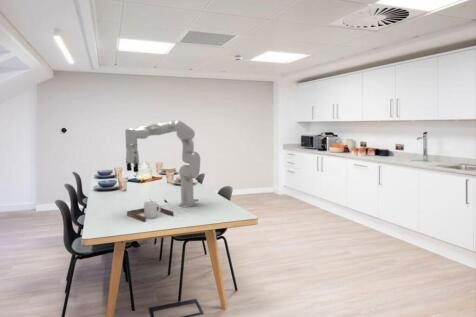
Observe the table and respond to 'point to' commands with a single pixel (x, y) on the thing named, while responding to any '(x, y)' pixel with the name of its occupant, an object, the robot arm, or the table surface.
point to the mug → (151, 209)
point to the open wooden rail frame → (135, 212)
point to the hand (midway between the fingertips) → (132, 171)
